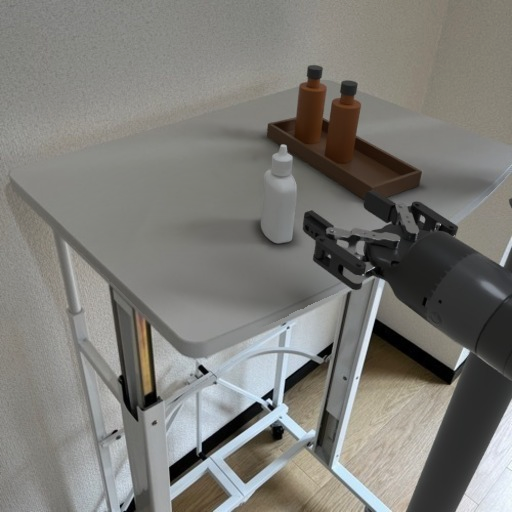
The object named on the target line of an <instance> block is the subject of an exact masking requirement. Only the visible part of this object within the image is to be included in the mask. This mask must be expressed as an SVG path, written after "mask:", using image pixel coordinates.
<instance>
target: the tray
mask: <svg viewBox="0 0 512 512" xmlns="http://www.w3.org/2000/svg"><path fill="white" fill-rule="evenodd" d="M295 124H296V116H295V117H291V118H286V119H281V120H278V121H273V122H268V123H267V128H266V129H267V131H266V138H267V139H269V140H270V141H272V142H273V143H275V144H276V145H278V146H279V147H280V146H281V145H286V146H287V152H289V153H291V154H293V155H294V156H295V157H297V158H299V160H301V161H303V162H304V163H306V164H308V165H309V166H310V167H312V168H314V169H316V170H317V171H319V173H322V174H323V175H325V176H326V177H328V178H329V179H331V180H333V181H334V182H335V183H338V184H339V185H340V186H342V187H343V188H345V189H346V190H348V191H350V192H351V193H352V194H354V195H356V196H358V197H359V198H361V199H362V200H364V199H365V194H366V192H369V191H372V190H373V191H375V192H377V193H378V194H381V195H383V196H385V198H389V197H391V196H395V195H397V194H400V193H403V192H406V191H408V190H412V189H415V188H418V187H419V186H420V183H421V182H420V181H421V178H422V175H423V171H422V170H421V169H419V168H417V167H415V166H413V165H412V164H409V163H408V162H406V161H404V160H402V159H401V158H398V157H397V156H395V155H393V154H391V153H390V152H387V151H386V150H383V149H382V148H380V147H378V146H376V145H375V144H372V143H371V142H369V141H367V140H365V139H364V138H361V137H360V136H359V135H356V138H355V144H354V150H353V156H352V160H351V161H350V162H348V163H335V162H334V161H332V160H330V159H329V158H327V157H326V156H325V148H326V141H327V134H328V127H329V119H326V118H325V117H323V121H322V129H321V137H320V141H319V142H318V143H315V144H304V143H303V142H301V141H299V140H298V139H296V138H294V134H295Z"/></svg>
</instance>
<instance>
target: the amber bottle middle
mask: <svg viewBox="0 0 512 512" xmlns="http://www.w3.org/2000/svg"><path fill="white" fill-rule="evenodd" d="M358 86H359V85H358V82H356V81H355V80H349V79H347V80H342V81H341V83H340V89H339V93H340V97H337V98H334V99H332V100H331V106H330V112H329V113H330V114H329V119H328V121H329V127H328V134H327V141H326V148H325V156H326V157H327V158H329V159H330V160H332V161H334V162H335V163H348V162H350V161H351V160H352V156H353V150H354V144H355V138H356V136H357V134H358V133H357V132H358V126H359V121H360V114H361V108H362V103H361V102H360V101H359V100H357V99H355V96H356V95H357V91H358Z"/></svg>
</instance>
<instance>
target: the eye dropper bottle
mask: <svg viewBox="0 0 512 512" xmlns="http://www.w3.org/2000/svg"><path fill="white" fill-rule="evenodd" d="M293 157H294V156H293V155H291V154H290V153H288V150H287V146H286V145H281V146H280V145H279V150H278V152H276V153H273V154H272V156H271V167H270V169H268V170H266V171H265V172H264V175H263V185H262V199H261V213H260V228H261V232H262V234H263V235H264V236H265V237H266V238H267V239H268V240H269V241H271V242H272V243H274V244H284V243H289V242H291V241H292V240H293V233H294V223H295V216H296V205H297V195H298V185H297V182H296V179H295V177H294V176H293V174H292V172H293V163H294V162H293V161H294V158H293Z"/></svg>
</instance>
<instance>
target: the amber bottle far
mask: <svg viewBox="0 0 512 512" xmlns="http://www.w3.org/2000/svg"><path fill="white" fill-rule="evenodd" d="M323 70H324V68H323V67H322V66H321V65H318V64H311V65H308V66H307V69H306V78H307V79H306V80H307V81H304V82H301V83H300V84H299V86H298V96H297V104H296V105H297V106H296V115H295V117H296V124H295V134H294V138H296V139H298V140H299V141H301V142H303V143H304V144H315V143H318V142H319V141H320V137H321V129H322V121H323V118H324V114H325V113H324V112H325V104H326V97H327V89H328V88H327V86H326V84H323V83H321V79H322V77H323Z"/></svg>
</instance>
